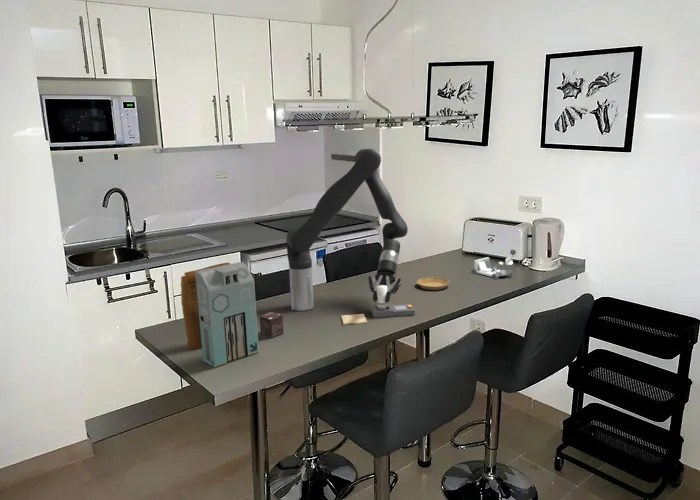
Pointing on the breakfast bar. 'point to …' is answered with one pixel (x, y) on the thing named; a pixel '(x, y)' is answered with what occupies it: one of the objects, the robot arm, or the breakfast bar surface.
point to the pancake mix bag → (192, 307)
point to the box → (271, 324)
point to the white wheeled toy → (490, 268)
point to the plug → (381, 297)
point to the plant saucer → (432, 283)
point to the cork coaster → (354, 319)
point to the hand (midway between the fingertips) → (380, 301)
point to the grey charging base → (393, 310)
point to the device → (227, 313)
